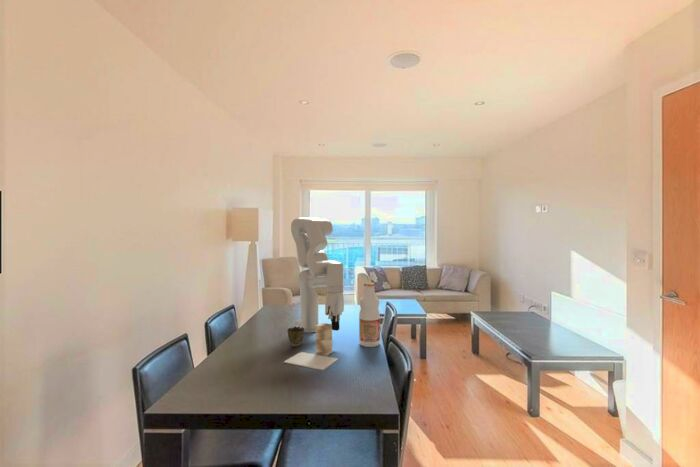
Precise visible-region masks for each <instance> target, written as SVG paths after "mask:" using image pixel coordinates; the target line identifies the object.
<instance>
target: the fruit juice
mask: <svg viewBox="0 0 700 467" xmlns="http://www.w3.org/2000/svg"><path fill="white" fill-rule="evenodd" d="M375 285H376V284H375V282H364V283H363V288H364V290H363V293H362V296H361V297H360V299H359V307H360V310H359V314H358V316H359V317H358V319H359V320H358V322H359V324H358V325H359V326H358V327H359V329H358V330H359V331H358V332H359V334H358V336H359V341H358V342H359V345H360V346H361V347H366V348H375V347H378V346H379V345H380V343H381V335H380V334H381V332H380V331H381V326H380V325H381V320H380V319H381V316H380V314H381V313H380V310H379V308H380V299H379V298H378V296H377V295H376V292H375V287H376V286H375Z"/></svg>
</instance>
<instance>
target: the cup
mask: <svg viewBox="0 0 700 467" xmlns="http://www.w3.org/2000/svg"><path fill="white" fill-rule="evenodd" d="M304 334H305V332H304V328H303V327H302V328H300V329H299V326H298V327H297V326H294V327H292V326H291V327H289V328H287V338H288V341H289V342H290V343H291V346H292V347H293V348H297V347H300V345H301V343H302V342H303V339H304Z"/></svg>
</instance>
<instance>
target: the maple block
mask: <svg viewBox="0 0 700 467" xmlns="http://www.w3.org/2000/svg"><path fill="white" fill-rule="evenodd" d="M332 352H333V330H332V324H331V323H327V322H321V323H318V325H316V332H315V354H316V355H321V356H327V357H328V356H329V355H330V354H332Z"/></svg>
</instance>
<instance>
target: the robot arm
mask: <svg viewBox="0 0 700 467" xmlns="http://www.w3.org/2000/svg"><path fill="white" fill-rule="evenodd" d="M290 224H291V225H290V232H291V235H292V238H293V240H294V243H295V246H296V254H297V261H298V264H299V267H301V268H302V269H305V270H302V271H300V272H299V273H298V275H297V276H298V277H297V280H298V286H299V287H298V288H299V296H300V297H299V299H300V300H299V301H300V303H299V306H300V310H299V311H300V313H299V315H300V319H295V322H294V325H297V326H298V327H299V329H300V328H302V327H303V328H304V334H305V333H316V325H319V295H318V293H317V291H316V290H315V288H323V287H326V295H325V302H324V303H325V304H324V306H325V308H324V314H325V316H328V320H330V321H331V323H330V324H332V331H337V332H338V331H339V330H340V320H341V315H343V312H344V311H345V301H344V264H343V262H341V261H337V260H335V259H334V260H330V259H329V258H328V255H327V253H326V251H324V249H326V247H327V246H328V240H327V238H326V236H330V235H332V233H333V231H334V230H333V229H334V228H333V224H332V222H331V221H330V220H329V219H327V218H322V217H296V218H294V219H293V220H292V221H291V223H290Z"/></svg>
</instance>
